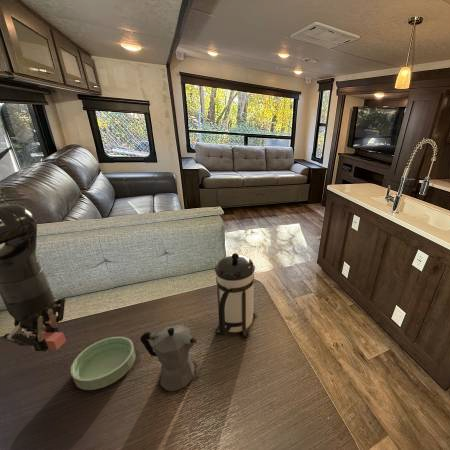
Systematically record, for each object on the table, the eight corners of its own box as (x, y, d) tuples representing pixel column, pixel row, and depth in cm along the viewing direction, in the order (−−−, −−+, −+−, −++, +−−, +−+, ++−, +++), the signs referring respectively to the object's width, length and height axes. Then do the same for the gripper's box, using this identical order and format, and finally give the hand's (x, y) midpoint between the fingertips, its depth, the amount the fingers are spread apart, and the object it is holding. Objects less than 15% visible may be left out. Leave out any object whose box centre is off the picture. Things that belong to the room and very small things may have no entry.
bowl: (60, 391, 65) (55, 380, 63) (99, 346, 78) (95, 335, 76) (116, 392, 66) (113, 381, 64) (145, 347, 79) (143, 337, 77)
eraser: (31, 349, 62) (27, 340, 61) (41, 340, 65) (38, 331, 64) (57, 349, 63) (53, 341, 62) (66, 340, 65) (63, 332, 64)
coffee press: (207, 319, 92) (201, 248, 81) (247, 305, 101) (247, 239, 89) (221, 354, 79) (217, 276, 68) (266, 335, 88) (269, 263, 76)
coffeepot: (207, 364, 76) (203, 319, 69) (192, 395, 67) (186, 347, 60) (158, 358, 76) (149, 312, 69) (137, 388, 67) (125, 339, 60)
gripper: (37, 272, 63) (57, 323, 70) (-27, 311, 50) (4, 369, 57) (68, 273, 64) (84, 324, 70) (12, 312, 51) (39, 370, 58)
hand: (48, 344), depth 64 cm, fingers closed on eraser, 2 cm apart
